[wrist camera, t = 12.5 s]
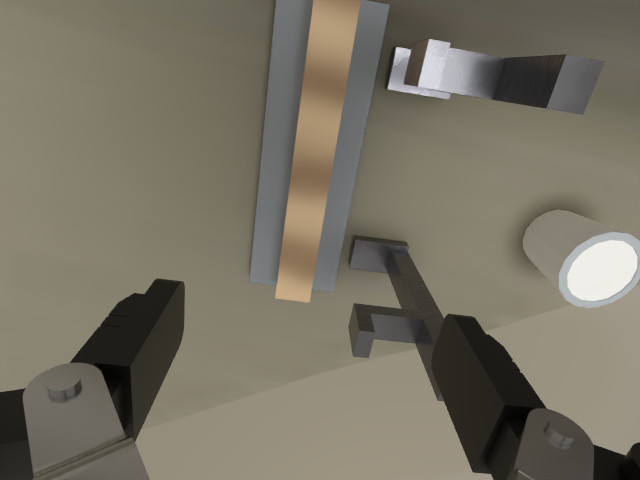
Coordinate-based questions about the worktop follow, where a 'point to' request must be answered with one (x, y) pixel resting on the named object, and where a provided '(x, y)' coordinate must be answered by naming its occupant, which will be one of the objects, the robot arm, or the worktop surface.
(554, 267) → the beige white-topped cylinder
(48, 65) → the worktop surface
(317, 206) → the oak rail
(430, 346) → the charcoal rack
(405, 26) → the worktop surface
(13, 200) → the worktop surface
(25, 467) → the robot arm
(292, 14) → the slate mat
